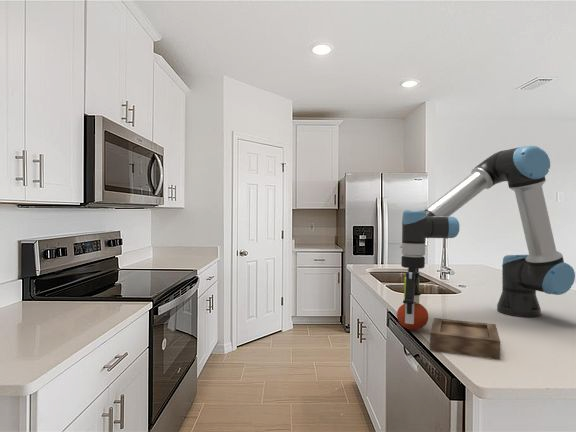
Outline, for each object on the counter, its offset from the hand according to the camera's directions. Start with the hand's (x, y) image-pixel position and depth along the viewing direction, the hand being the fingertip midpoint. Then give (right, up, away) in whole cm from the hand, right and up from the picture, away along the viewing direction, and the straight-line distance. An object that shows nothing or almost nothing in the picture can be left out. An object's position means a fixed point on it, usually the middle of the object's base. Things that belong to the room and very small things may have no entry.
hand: (411, 318), depth 138 cm
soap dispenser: (+9, -4, +28) cm, 30 cm away
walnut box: (+11, -4, -15) cm, 19 cm away
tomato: (0, -4, 0) cm, 4 cm away
